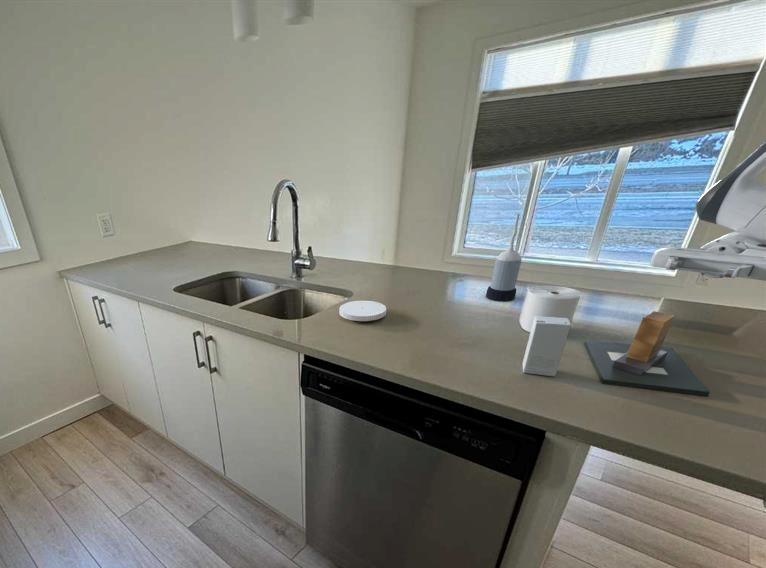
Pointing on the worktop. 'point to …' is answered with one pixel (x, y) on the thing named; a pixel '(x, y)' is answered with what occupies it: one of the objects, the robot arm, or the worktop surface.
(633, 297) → the worktop surface
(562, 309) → the toilet tissue
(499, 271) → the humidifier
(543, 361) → the cosmetic box
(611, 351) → the slate board
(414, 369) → the worktop surface
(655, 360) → the eraser
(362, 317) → the plastic lid
